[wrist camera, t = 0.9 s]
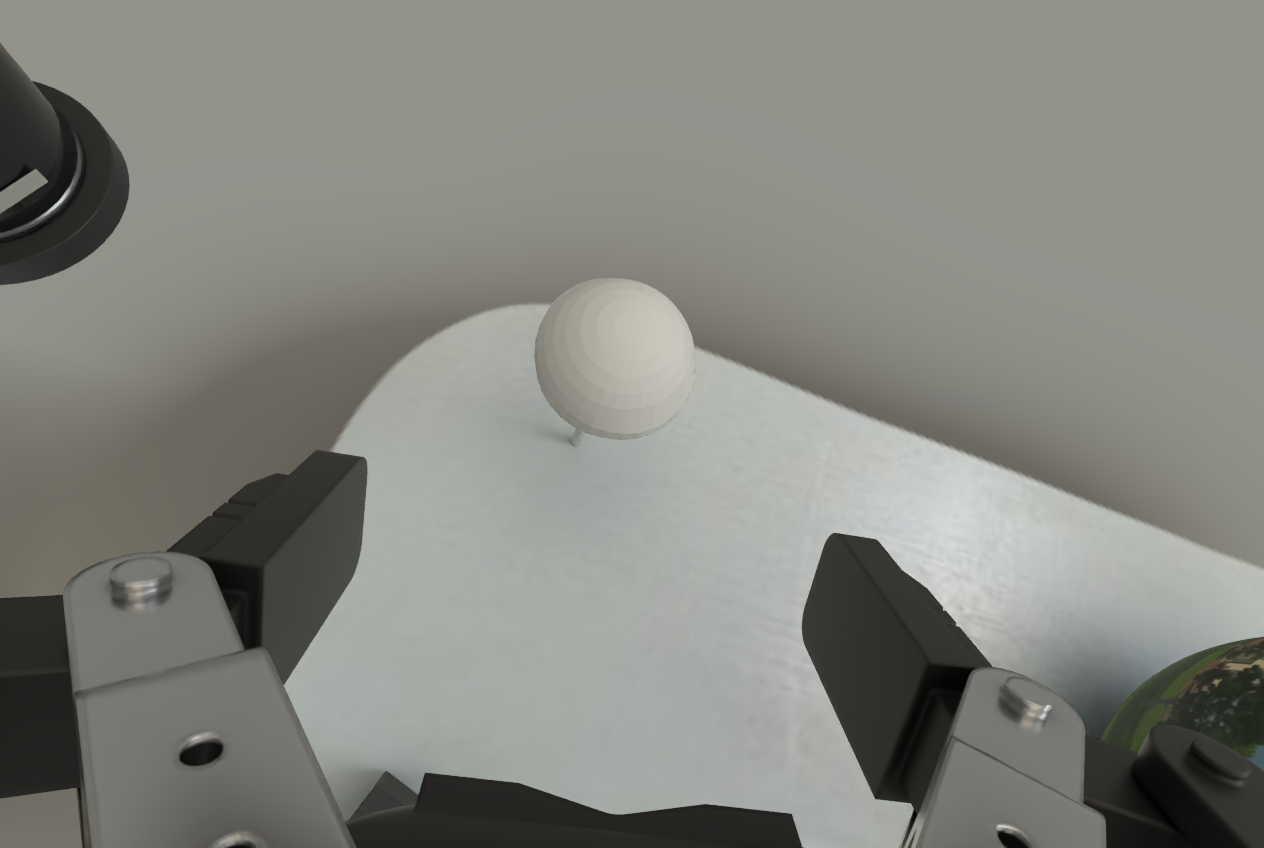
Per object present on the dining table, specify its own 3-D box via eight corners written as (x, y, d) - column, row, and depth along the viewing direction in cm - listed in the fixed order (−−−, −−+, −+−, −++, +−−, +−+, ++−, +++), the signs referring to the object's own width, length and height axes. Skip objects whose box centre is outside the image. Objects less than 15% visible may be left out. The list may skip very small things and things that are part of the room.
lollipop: (647, 471, 37) (748, 377, 23) (548, 516, 35) (590, 444, 21) (599, 371, 38) (667, 222, 24) (500, 410, 36) (510, 273, 22)
